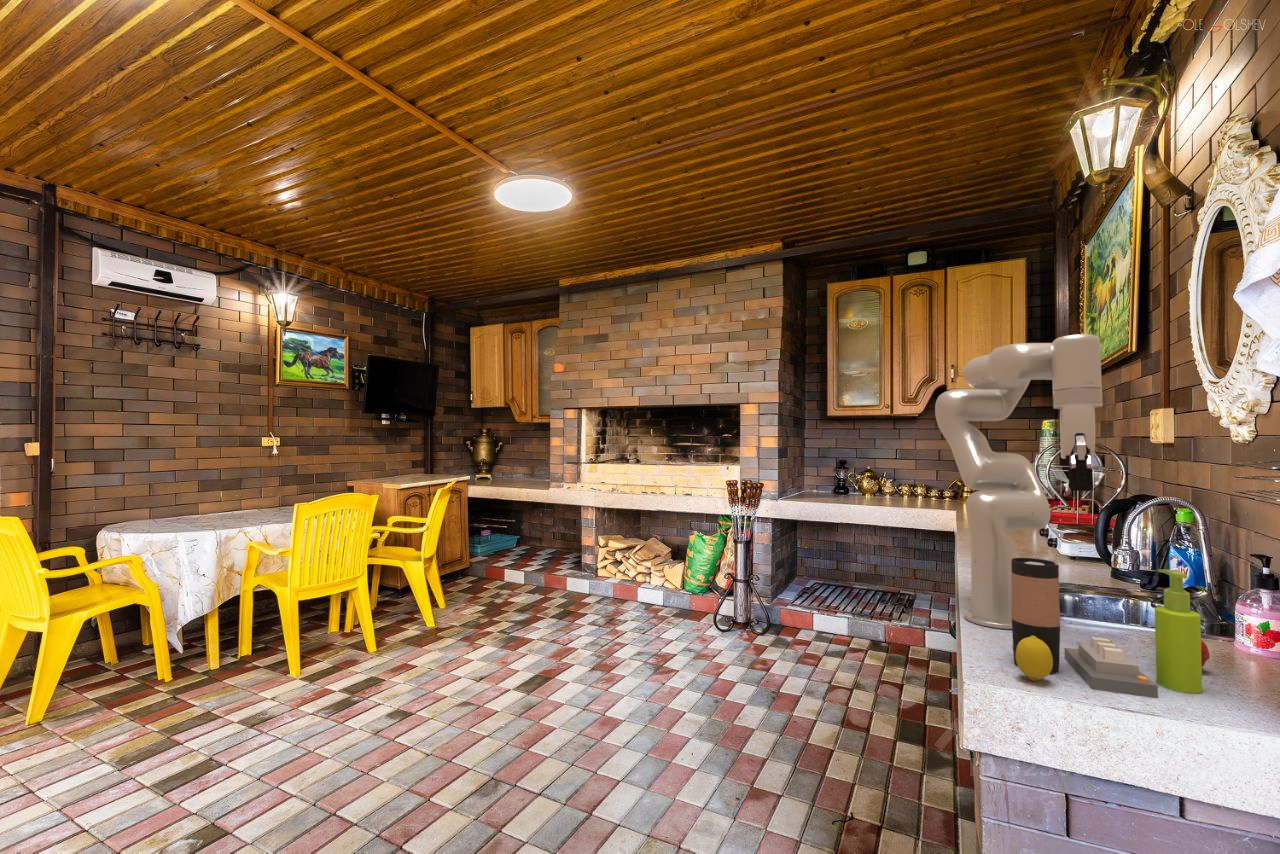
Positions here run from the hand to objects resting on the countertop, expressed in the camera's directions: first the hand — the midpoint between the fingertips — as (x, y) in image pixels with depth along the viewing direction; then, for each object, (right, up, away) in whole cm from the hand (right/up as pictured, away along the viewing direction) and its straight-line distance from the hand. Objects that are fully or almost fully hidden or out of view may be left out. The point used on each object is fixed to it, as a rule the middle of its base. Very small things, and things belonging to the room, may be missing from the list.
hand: (1080, 489), depth 109 cm
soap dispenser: (+12, -34, -7) cm, 37 cm away
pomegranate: (+20, -34, +1) cm, 40 cm away
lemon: (-13, -34, -6) cm, 37 cm away
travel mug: (-8, -34, +1) cm, 35 cm away
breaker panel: (+2, -34, -3) cm, 34 cm away
